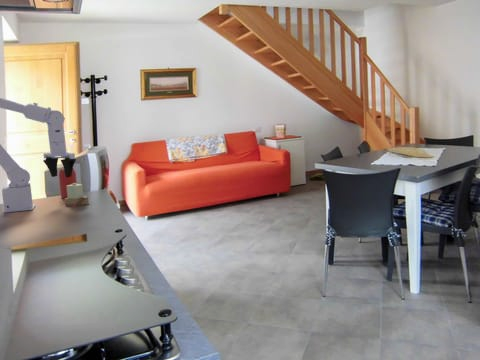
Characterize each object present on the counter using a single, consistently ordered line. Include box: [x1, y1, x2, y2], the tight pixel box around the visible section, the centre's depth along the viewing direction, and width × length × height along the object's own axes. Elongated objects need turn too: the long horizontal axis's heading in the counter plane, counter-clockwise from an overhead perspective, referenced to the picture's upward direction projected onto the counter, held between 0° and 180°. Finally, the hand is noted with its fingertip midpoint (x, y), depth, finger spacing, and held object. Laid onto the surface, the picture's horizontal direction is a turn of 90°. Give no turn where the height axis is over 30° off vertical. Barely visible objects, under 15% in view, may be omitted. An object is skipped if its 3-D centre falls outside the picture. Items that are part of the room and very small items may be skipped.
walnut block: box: [64, 195, 90, 208], centre depth 163 cm, size 6×6×3 cm
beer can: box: [58, 167, 78, 199], centre depth 177 cm, size 7×7×12 cm
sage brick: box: [67, 182, 84, 199], centre depth 162 cm, size 4×4×6 cm
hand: (61, 176), depth 165 cm, fingers open, 7 cm apart
